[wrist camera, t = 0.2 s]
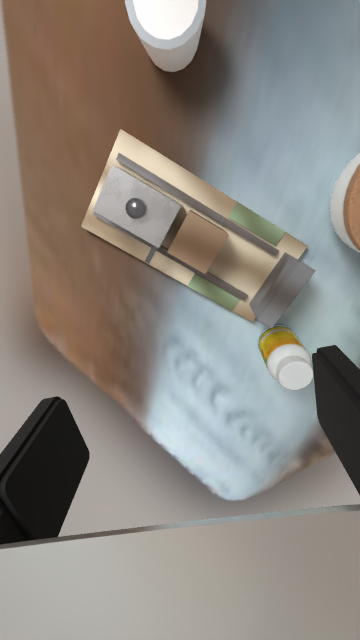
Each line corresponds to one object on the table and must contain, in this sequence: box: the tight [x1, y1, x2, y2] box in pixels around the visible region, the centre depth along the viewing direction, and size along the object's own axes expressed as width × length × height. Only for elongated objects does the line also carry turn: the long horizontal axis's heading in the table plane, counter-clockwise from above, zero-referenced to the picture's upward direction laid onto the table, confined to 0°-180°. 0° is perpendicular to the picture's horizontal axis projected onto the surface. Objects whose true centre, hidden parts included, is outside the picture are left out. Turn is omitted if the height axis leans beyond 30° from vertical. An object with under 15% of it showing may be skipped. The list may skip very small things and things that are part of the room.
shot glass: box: [125, 0, 206, 72], centre depth 28 cm, size 7×7×7 cm
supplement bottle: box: [258, 325, 313, 390], centre depth 39 cm, size 5×5×10 cm
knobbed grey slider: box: [93, 165, 183, 264], centre depth 33 cm, size 7×8×6 cm
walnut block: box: [167, 210, 229, 274], centre depth 35 cm, size 5×5×5 cm
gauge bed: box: [81, 129, 316, 328], centre depth 35 cm, size 12×26×7 cm, turn 61°
